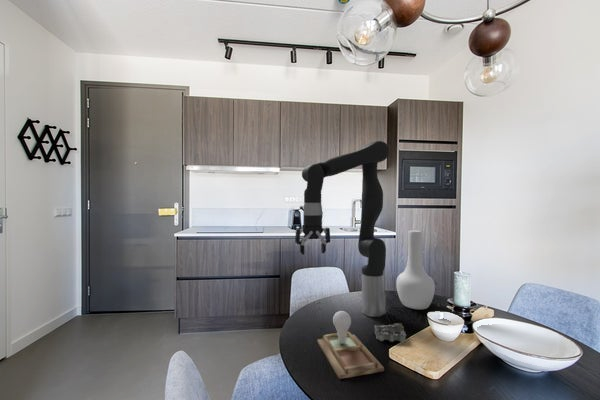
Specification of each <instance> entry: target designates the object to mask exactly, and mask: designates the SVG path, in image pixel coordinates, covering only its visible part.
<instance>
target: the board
mask: <svg viewBox="0 0 600 400" xmlns="http://www.w3.org/2000/svg"><path fill="white" fill-rule="evenodd" d="M316 342H317V344H318V346H319V347H320V349H321V351H322V352H323V355H325V358H326V359H327V361H328V362H329V364H330V366H331V367H332V369H333V371H334V373H335V374H336V376H337V378H338V379H339V380H342V379H347V378H353V377H359V376H364V375H370V374H375V373H380V372H384V371H385V368H384V366H383V365H382V363H380V362H379V360H378V359H377V358H376V357H375V356H374V355H373V354H372V353H371V352H370V351H369V349H368V348H367V347H366V346H365V345H364V344H363V343H362V341H361V340H360V339H359V338H358V337H357V335H355V334H352V333H351V332H350V331H347V336H346V342H345V343H344V344H341V343H339V342H338V335H337V332H335V333H329V334H322V338H319V339H317V341H316Z"/></svg>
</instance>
